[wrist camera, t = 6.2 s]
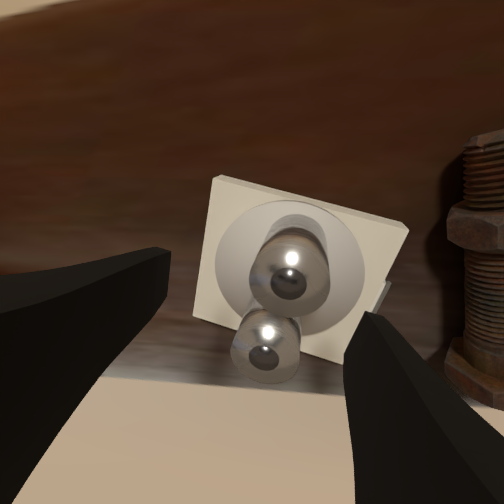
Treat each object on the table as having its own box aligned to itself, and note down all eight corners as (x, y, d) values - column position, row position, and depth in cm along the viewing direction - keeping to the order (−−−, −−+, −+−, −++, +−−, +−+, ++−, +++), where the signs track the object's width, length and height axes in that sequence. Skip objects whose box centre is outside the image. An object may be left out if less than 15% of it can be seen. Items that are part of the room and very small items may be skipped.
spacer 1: (260, 259, 18) (241, 304, 13) (274, 206, 16) (258, 236, 11) (315, 276, 17) (315, 327, 13) (335, 223, 16) (343, 261, 11)
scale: (200, 304, 23) (188, 322, 21) (221, 173, 18) (208, 178, 16) (346, 351, 22) (349, 375, 20) (410, 222, 17) (423, 235, 15)
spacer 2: (246, 316, 20) (224, 371, 15) (257, 274, 18) (237, 321, 13) (294, 331, 19) (288, 393, 15) (310, 290, 18) (308, 344, 13)
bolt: (480, 129, 16) (479, 339, 21) (410, 149, 15) (425, 366, 20) (638, 100, 11) (590, 395, 15) (544, 130, 10) (523, 435, 14)
